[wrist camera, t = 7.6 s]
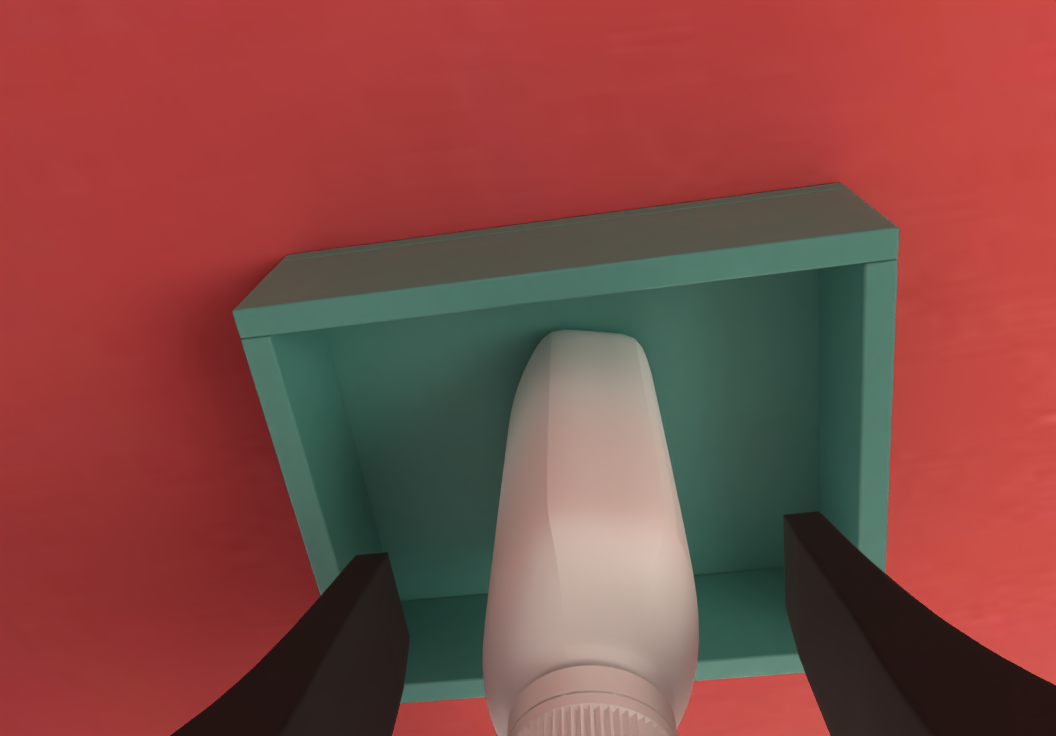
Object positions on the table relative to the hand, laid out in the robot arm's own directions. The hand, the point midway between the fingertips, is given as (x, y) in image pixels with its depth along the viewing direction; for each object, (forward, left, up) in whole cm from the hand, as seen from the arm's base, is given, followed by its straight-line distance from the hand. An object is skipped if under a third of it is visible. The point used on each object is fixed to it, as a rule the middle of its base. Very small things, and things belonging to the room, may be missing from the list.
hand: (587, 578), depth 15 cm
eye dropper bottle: (0, 0, -6) cm, 6 cm away
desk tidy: (0, 0, -6) cm, 6 cm away
